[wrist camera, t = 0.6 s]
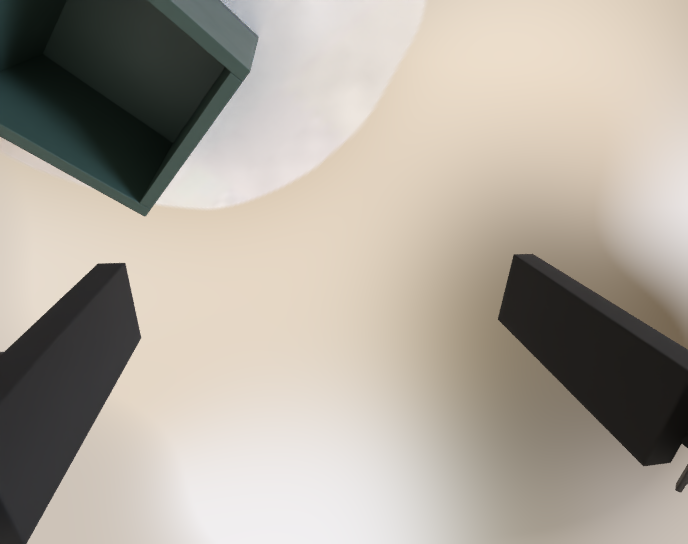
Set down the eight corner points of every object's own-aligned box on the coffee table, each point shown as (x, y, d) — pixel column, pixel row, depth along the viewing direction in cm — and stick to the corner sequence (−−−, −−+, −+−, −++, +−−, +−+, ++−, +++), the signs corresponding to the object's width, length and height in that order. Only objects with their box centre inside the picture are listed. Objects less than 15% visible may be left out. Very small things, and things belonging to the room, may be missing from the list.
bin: (103, -111, 25) (2, -149, 16) (258, 37, 31) (250, 70, 22) (32, 52, 30) (-76, 95, 21) (178, 151, 36) (145, 217, 27)
